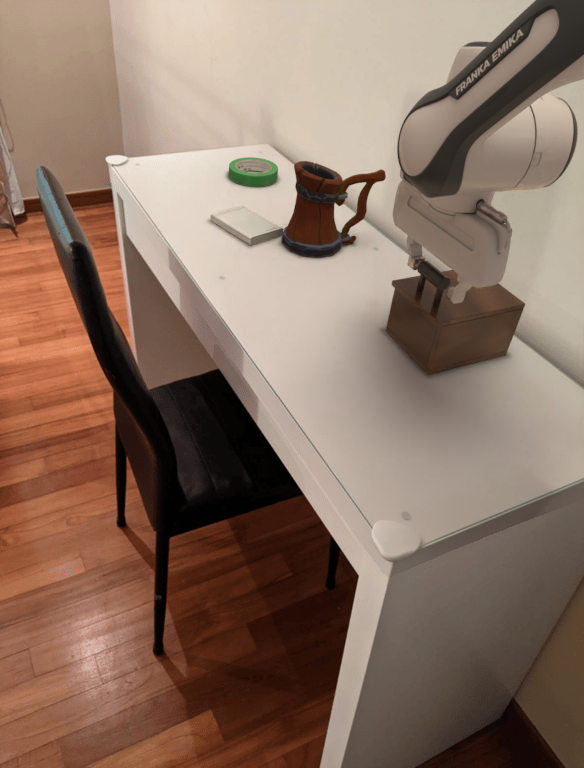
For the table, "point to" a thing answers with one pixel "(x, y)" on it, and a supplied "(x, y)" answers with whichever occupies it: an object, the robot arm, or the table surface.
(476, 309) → the lid
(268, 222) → the hard drive
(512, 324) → the chest
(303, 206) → the mug
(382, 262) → the table surface
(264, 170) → the tape roll
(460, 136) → the robot arm
